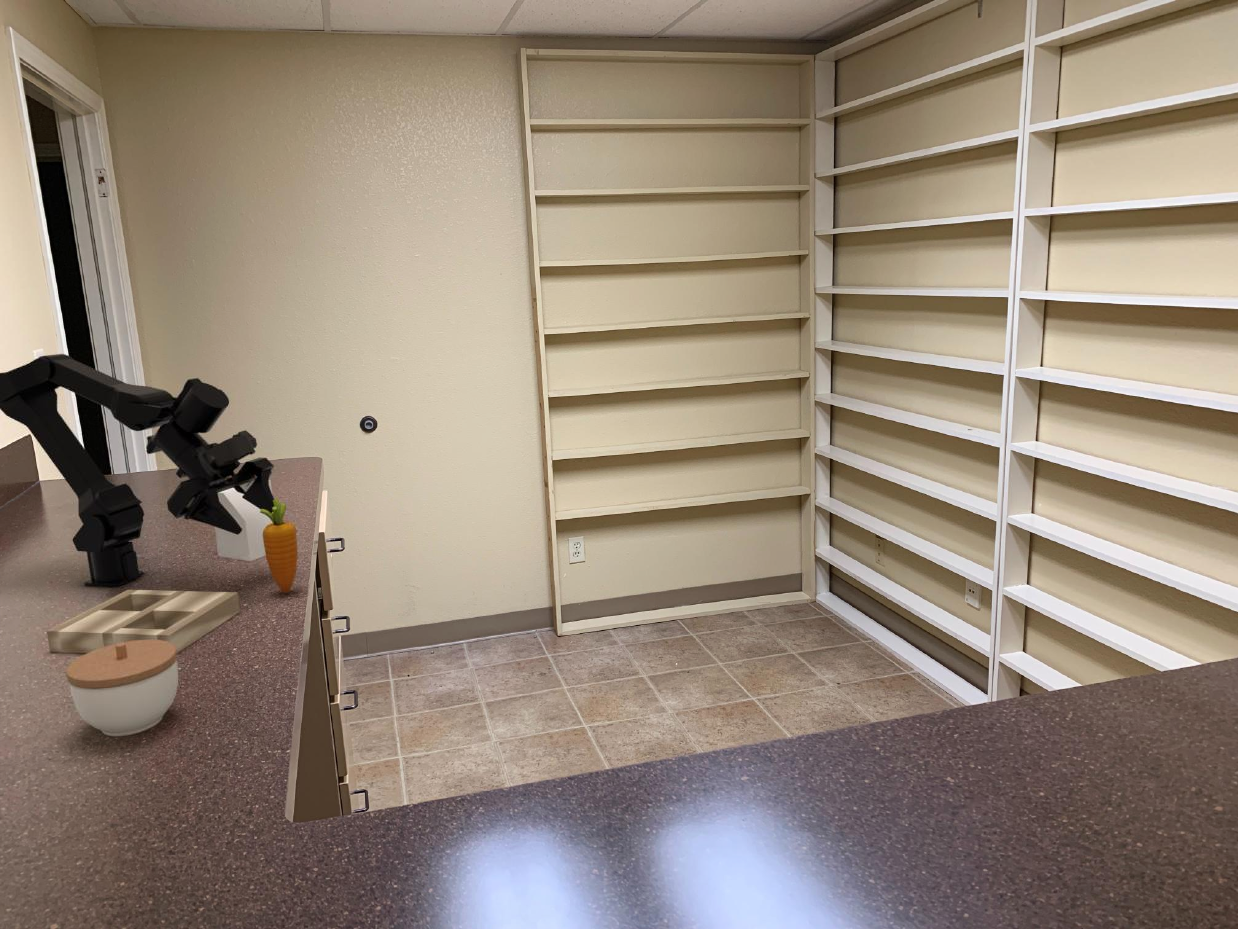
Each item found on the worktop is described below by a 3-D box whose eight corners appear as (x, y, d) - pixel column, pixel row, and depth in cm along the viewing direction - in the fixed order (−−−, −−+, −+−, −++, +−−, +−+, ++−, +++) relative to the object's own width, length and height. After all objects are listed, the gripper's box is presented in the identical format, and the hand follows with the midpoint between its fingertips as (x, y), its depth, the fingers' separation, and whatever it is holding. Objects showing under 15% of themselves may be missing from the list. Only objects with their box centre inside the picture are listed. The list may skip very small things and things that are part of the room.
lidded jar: (83, 713, 102) (70, 636, 101) (186, 693, 107) (176, 619, 105) (70, 757, 93) (56, 673, 91) (184, 733, 97) (172, 652, 95)
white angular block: (252, 538, 171) (245, 477, 169) (296, 544, 166) (289, 481, 164) (205, 554, 162) (197, 490, 160) (250, 561, 157) (242, 495, 155)
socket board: (50, 652, 120) (46, 631, 119) (130, 608, 136) (128, 589, 135) (172, 656, 117) (168, 635, 117) (240, 611, 133) (237, 592, 132)
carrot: (292, 599, 137) (281, 505, 134) (263, 598, 138) (251, 504, 135) (309, 588, 142) (299, 497, 139) (281, 587, 143) (270, 496, 140)
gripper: (171, 428, 128) (246, 505, 127) (256, 408, 145) (323, 476, 145) (135, 480, 132) (208, 555, 131) (222, 455, 149) (286, 521, 148)
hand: (260, 524), depth 139 cm, fingers open, 9 cm apart
